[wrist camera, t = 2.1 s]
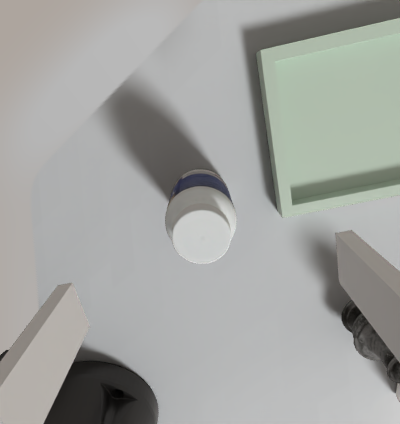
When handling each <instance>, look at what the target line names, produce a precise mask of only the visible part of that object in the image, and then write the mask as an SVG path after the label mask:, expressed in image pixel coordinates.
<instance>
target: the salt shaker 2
mask: <svg viewBox="0 0 400 424" xmlns="http://www.w3.org/2000/svg"><path fill="white" fill-rule="evenodd" d="M396 396H397V399H398V400H399V402H400V384H399V383H397V389H396Z"/></svg>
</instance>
